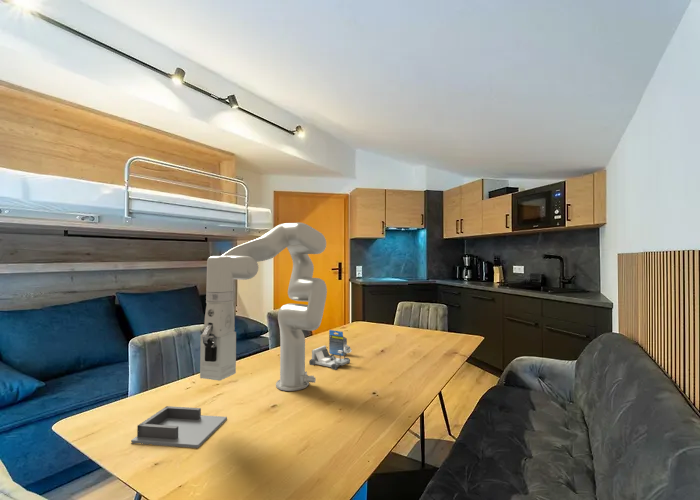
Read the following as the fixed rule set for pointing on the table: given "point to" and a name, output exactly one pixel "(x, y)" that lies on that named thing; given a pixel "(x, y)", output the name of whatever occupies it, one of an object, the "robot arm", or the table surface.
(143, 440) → the box holder
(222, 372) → the supplement box
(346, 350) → the toy car
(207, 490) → the table surface
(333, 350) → the label tape cartridge
